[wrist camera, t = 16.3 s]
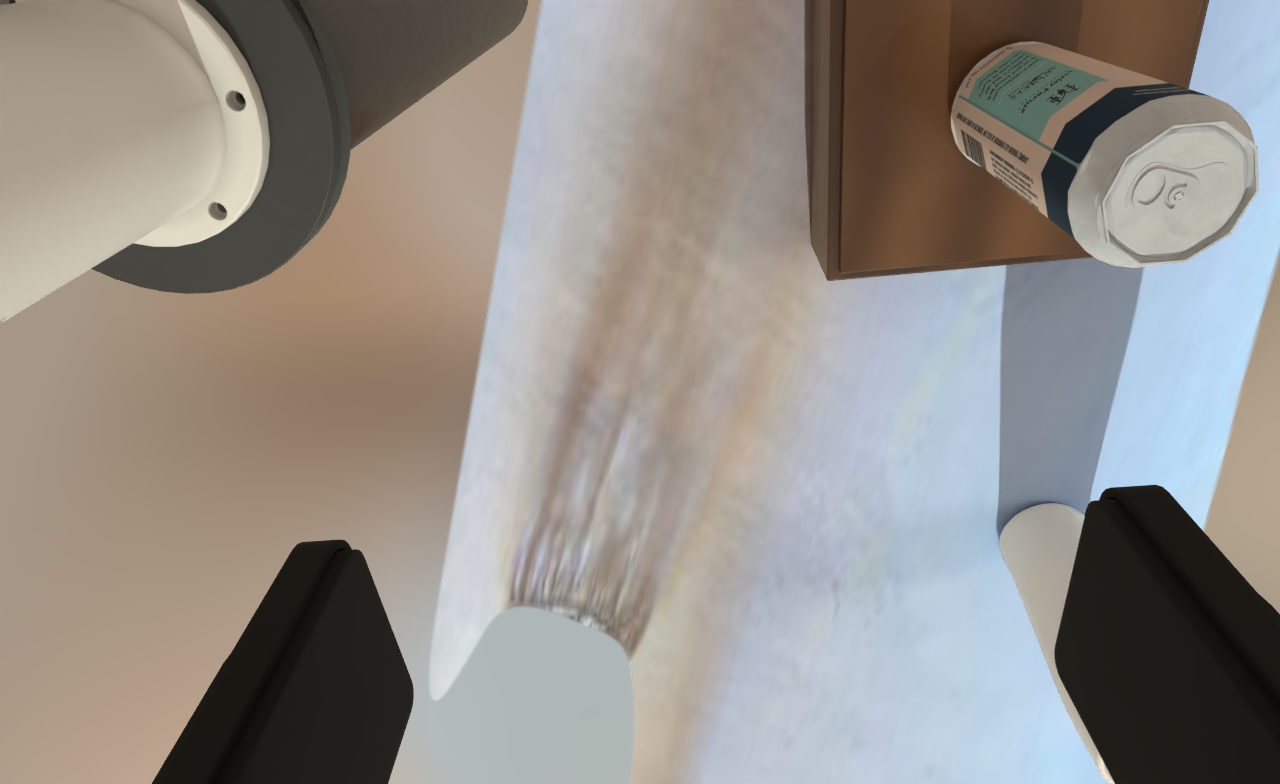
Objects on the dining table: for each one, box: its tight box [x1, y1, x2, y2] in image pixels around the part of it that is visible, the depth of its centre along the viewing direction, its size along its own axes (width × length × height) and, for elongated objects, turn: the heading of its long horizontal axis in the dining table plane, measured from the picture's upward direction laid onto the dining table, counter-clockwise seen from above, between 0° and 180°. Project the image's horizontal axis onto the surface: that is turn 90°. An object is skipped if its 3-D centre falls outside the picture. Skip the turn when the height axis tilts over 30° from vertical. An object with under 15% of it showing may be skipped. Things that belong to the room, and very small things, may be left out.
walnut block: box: [811, 0, 1209, 281], centre depth 33 cm, size 14×14×5 cm
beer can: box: [951, 41, 1259, 268], centre depth 26 cm, size 5×5×12 cm
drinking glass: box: [999, 503, 1115, 784], centre depth 42 cm, size 7×7×15 cm
